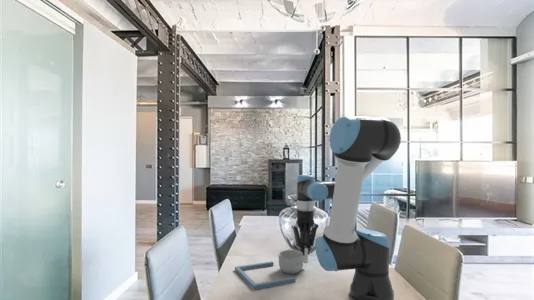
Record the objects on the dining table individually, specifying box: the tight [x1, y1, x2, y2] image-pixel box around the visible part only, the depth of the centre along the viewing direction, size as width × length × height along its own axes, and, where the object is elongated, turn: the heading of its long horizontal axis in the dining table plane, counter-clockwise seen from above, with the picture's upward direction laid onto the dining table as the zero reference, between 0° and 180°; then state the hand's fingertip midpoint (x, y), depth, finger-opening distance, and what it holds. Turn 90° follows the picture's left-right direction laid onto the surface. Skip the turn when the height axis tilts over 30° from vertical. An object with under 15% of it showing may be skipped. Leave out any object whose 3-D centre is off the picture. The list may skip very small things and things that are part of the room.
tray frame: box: [234, 260, 296, 291], centre depth 132 cm, size 22×18×2 cm
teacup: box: [277, 248, 304, 275], centre depth 139 cm, size 14×11×8 cm
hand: (304, 262), depth 142 cm, fingers closed
